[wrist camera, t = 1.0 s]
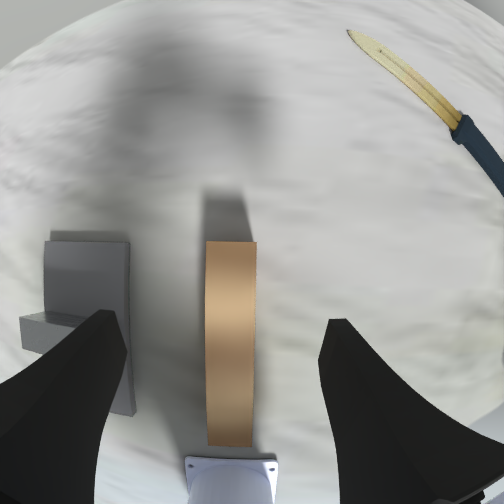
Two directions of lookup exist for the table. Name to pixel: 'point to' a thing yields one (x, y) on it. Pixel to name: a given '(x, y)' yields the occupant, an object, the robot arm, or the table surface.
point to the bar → (230, 341)
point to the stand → (83, 301)
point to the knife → (438, 108)
